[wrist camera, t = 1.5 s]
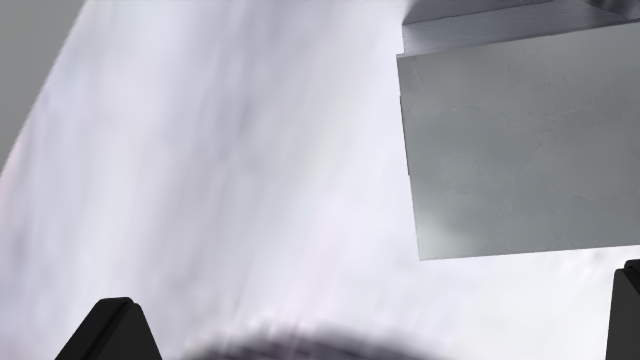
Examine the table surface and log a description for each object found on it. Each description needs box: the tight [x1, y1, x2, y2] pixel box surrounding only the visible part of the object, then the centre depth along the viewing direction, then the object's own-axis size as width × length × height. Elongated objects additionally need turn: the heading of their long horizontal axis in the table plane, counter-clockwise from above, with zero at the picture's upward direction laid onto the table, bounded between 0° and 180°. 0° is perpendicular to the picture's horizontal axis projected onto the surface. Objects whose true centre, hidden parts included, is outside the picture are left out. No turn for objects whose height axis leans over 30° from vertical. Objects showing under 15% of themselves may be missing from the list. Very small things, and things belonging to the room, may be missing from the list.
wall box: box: [396, 0, 640, 261], centre depth 23 cm, size 9×9×9 cm
